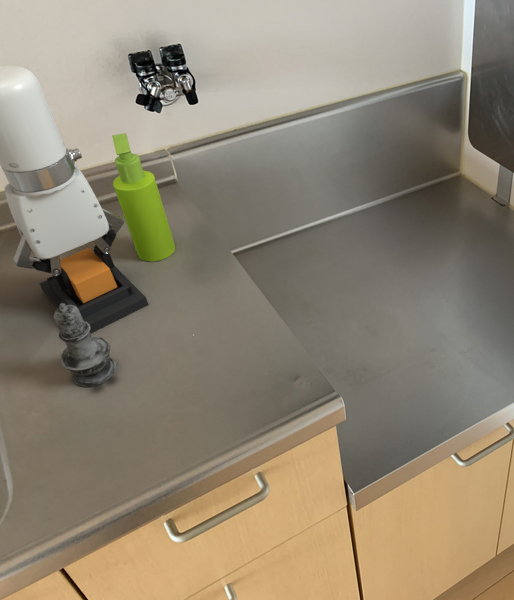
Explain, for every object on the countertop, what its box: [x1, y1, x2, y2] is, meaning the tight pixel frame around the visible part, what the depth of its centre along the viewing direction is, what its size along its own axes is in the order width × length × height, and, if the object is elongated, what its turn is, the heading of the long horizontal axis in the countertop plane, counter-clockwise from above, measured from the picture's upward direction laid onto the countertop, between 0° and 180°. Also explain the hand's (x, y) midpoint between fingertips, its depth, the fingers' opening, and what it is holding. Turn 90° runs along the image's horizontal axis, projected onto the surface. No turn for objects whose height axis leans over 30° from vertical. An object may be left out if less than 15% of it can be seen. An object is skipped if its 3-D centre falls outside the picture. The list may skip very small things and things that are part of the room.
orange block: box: [60, 247, 117, 303], centre depth 88 cm, size 5×7×4 cm
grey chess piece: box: [53, 303, 117, 388], centre depth 76 cm, size 6×6×12 cm
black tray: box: [39, 266, 149, 334], centre depth 90 cm, size 10×14×3 cm
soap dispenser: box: [111, 132, 176, 263], centre depth 93 cm, size 6×7×20 cm
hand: (88, 280), depth 89 cm, fingers closed on orange block, 5 cm apart
